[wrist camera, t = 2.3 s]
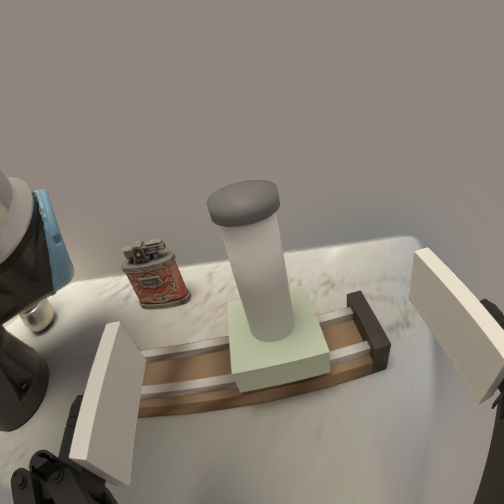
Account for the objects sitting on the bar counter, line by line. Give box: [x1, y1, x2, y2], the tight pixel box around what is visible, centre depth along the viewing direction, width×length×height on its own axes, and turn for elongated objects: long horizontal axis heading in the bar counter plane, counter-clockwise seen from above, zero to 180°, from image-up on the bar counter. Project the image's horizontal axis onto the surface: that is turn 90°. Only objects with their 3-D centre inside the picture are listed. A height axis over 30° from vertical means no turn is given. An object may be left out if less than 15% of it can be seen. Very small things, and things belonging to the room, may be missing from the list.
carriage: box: [207, 180, 330, 393], centre depth 24 cm, size 8×9×16 cm
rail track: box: [138, 290, 391, 417], centre depth 29 cm, size 30×8×4 cm, turn 96°
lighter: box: [121, 239, 191, 309], centre depth 41 cm, size 8×3×10 cm, turn 90°
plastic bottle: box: [19, 298, 54, 332], centre depth 39 cm, size 6×7×20 cm
